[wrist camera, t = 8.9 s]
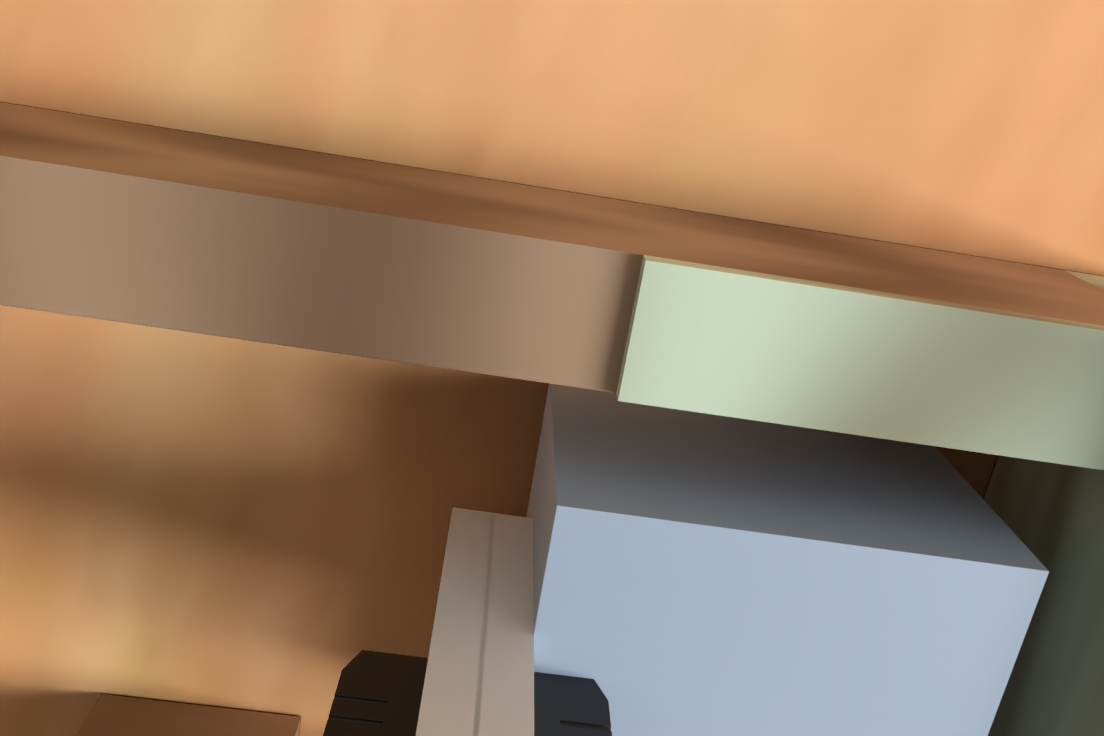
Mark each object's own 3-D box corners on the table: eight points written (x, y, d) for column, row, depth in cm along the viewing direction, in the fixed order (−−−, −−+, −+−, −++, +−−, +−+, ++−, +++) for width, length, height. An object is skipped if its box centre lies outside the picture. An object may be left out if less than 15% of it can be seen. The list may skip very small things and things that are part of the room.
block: (496, 692, 21) (485, 895, 16) (549, 376, 18) (557, 505, 14) (825, 732, 21) (910, 939, 16) (919, 429, 19) (1049, 571, 14)
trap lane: (-238, 829, 21) (-513, 1126, 16) (-340, 48, 16) (-815, 73, 10) (895, 945, 23) (1013, 1247, 18) (1142, 282, 18) (1425, 410, 12)
